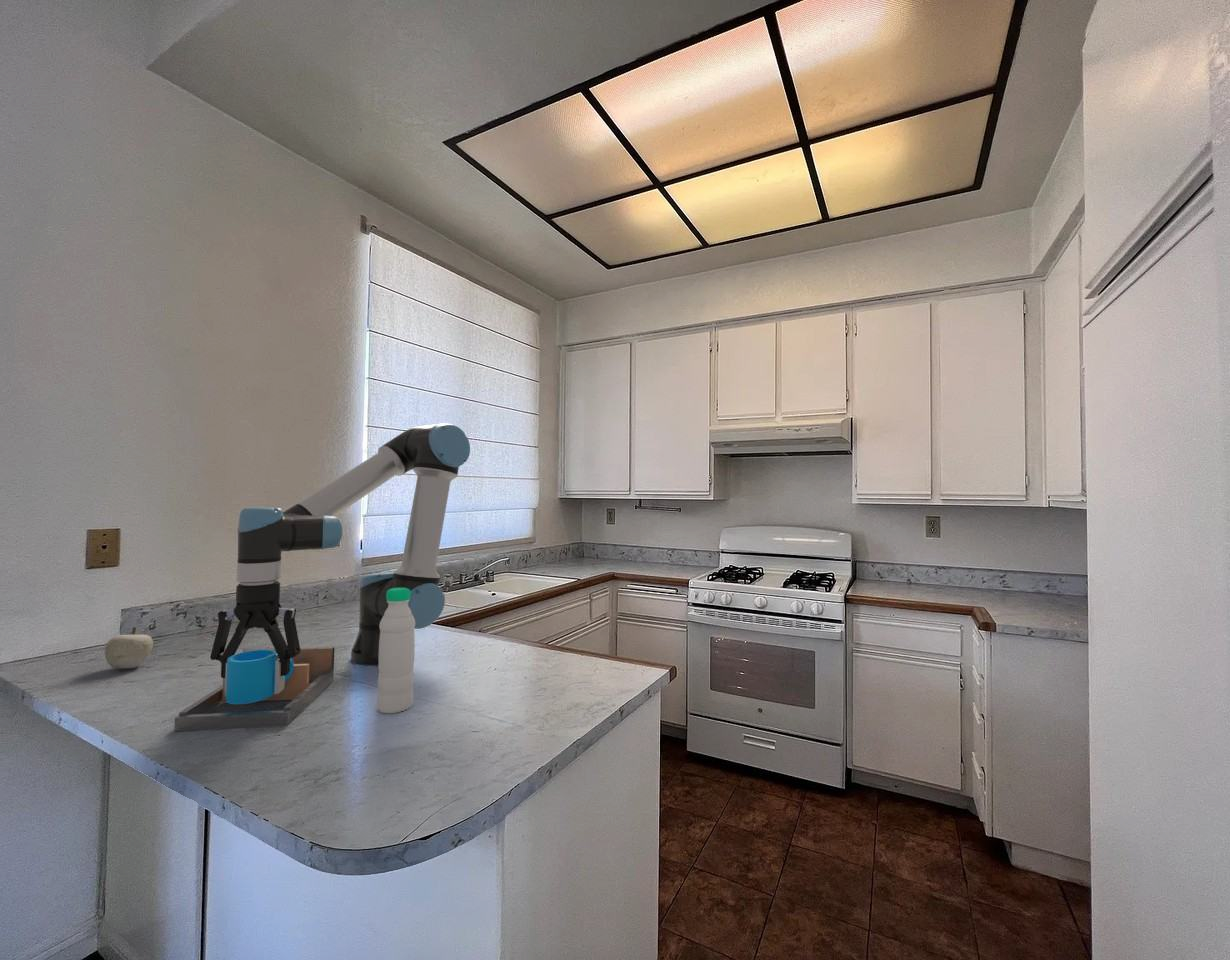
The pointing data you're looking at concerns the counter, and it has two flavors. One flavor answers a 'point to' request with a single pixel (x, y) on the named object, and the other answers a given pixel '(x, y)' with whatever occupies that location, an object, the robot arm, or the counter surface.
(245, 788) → the counter surface
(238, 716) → the lane
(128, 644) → the decorative object
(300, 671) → the pusher
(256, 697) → the mug
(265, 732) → the counter surface
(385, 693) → the water bottle
